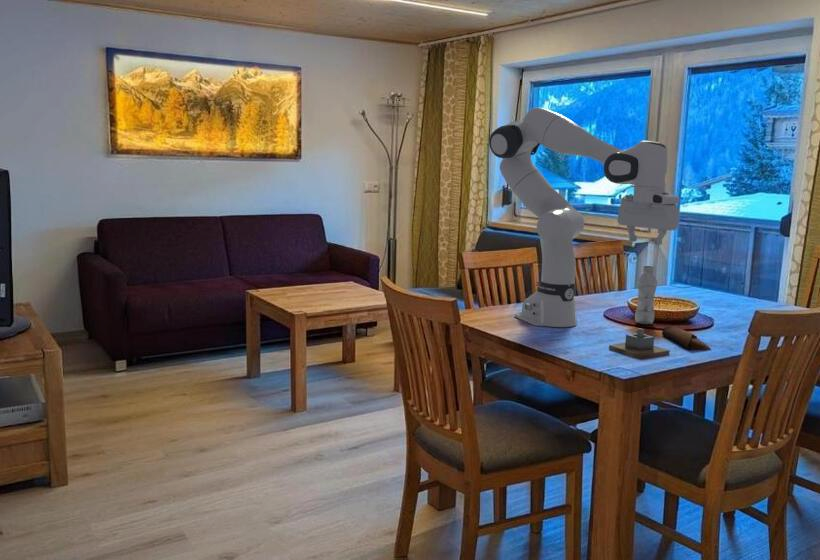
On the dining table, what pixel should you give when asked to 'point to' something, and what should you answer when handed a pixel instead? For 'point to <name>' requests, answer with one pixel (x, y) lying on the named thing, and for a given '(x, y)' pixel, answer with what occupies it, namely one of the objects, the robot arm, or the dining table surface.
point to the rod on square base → (639, 354)
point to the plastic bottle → (646, 296)
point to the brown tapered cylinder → (685, 338)
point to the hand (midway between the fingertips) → (645, 242)
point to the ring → (639, 342)
